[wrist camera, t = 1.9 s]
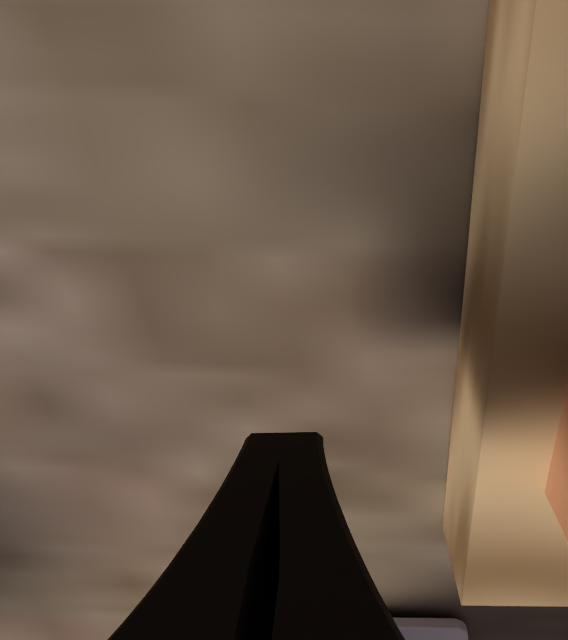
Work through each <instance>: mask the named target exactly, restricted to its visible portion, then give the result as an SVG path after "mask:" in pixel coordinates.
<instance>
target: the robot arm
mask: <svg viewBox="0 0 568 640" xmlns="http://www.w3.org/2000/svg"><path fill="white" fill-rule="evenodd" d="M108 640H468V632H467V628H466V624H465V623H464V622H463V621H461V620H458V619H454V618H399V617H392V616H391V614H390V612H389V610H388V608H387V607H386V605H385V603H384V601H383V599H382V597H381V596H380V594H379V592H378V590H377V588H376V586H375V584H374V582H373V580H372V578H371V576H370V574H369V572H368V570H367V568H366V566H365V564H364V561H363V559H362V557H361V555H360V553H359V551H358V549H357V546H356V544H355V542H354V540H353V537H352V535H351V533H350V530H349V528H348V525H347V523H346V520H345V518H344V515H343V513H342V510H341V507H340V505H339V502H338V500H337V497H336V494H335V491H334V488H333V485H332V482H331V478H330V475H329V472H328V468H327V464H326V459H325V454H324V448H323V437H322V436H321V435H320V434H318V433H317V432H297V433H251V434H250V435H249V436H248V437H247V438H246V440H245V442H244V444H243V446H242V449H241V451H240V453H239V454H238V456H237V458H236V460H235V462H234V464H233V466H232V468H231V470H230V472H229V473H228V475H227V477H226V479H225V480H224V482H223V484H222V486H221V487H220V489H219V491H218V492H217V494H216V496H215V497H214V499H213V500H212V502H211V504H210V505H209V507H208V508H207V510H206V512H205V513H204V515H203V516H202V518H201V520H200V521H199V523H198V524H197V526H196V527H195V529H194V530H193V532H192V533H191V534H190V536H189V537H188V539H187V540H186V542H185V543H184V544H183V546H182V547H181V549H180V550H179V551H178V553H177V554H176V556H175V557H174V559H173V560H172V561H171V563H170V564H169V566H168V567H167V568H166V570H165V571H164V572H163V574H162V575H161V576H160V578H159V579H158V580H157V581H156V583H155V584H154V585H153V587H152V588H151V589H150V590H149V592H148V593H147V594H146V595H145V597H144V598H143V599H142V600H141V602H140V603H139V604H138V605H137V606H136V608H135V609H134V610H133V611H132V612H131V614H130V615H129V616H128V617H127V618H126V620H125V621H124V622H123V623H122V624H121V625H120V626H119V628H118V629H117V630H116V631H115V632H114V633H113V634H112V635H111V637H110V638H109V639H108Z"/></svg>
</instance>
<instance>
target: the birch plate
mask: <svg viewBox="0 0 568 640" xmlns="http://www.w3.org/2000/svg"><path fill="white" fill-rule="evenodd" d="M567 381H568V0H490V2H489V13H488V24H487V36H486V47H485V58H484V69H483V80H482V92H481V103H480V114H479V125H478V137H477V148H476V159H475V170H474V182H473V193H472V204H471V215H470V226H469V238H468V249H467V260H466V271H465V283H464V294H463V305H462V316H461V328H460V339H459V350H458V361H457V372H456V384H455V395H454V406H453V417H452V429H451V440H450V451H449V462H448V473H447V485H446V496H445V507H444V518H443V531H444V535H445V539H446V543H447V548H448V552H449V556H450V560H451V564H452V568H453V573H454V577H455V581H456V585H457V589H458V593H459V598H460V602H461V605H464V606H558V607H568V541H567V538H566V536H565V534H564V532H563V530H562V528H561V526H560V524H559V522H558V520H557V517H556V515H555V513H554V511H553V509H552V507H551V505H550V503H549V501H548V499H547V496H546V494H545V488H546V483H547V478H548V473H549V468H550V463H551V459H552V454H553V449H554V444H555V439H556V434H557V429H558V425H559V420H560V415H561V410H562V405H563V400H564V395H565V390H566V386H567Z"/></svg>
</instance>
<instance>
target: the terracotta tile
mask: <svg viewBox="0 0 568 640" xmlns="http://www.w3.org/2000/svg"><path fill="white" fill-rule="evenodd" d="M545 494H546V496H547V499H548V501H549V503H550V505H551V507H552V509H553V511H554V513H555V515H556V517H557V520H558V522H559V524H560V526H561V528H562V530H563V532H564V534H565V536H566V538H567V541H568V381H567V386H566V390H565V395H564V400H563V405H562V410H561V415H560V420H559V425H558V429H557V434H556V439H555V444H554V449H553V454H552V459H551V463H550V468H549V473H548V478H547V483H546V488H545Z"/></svg>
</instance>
